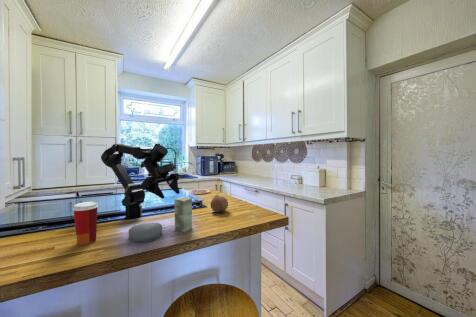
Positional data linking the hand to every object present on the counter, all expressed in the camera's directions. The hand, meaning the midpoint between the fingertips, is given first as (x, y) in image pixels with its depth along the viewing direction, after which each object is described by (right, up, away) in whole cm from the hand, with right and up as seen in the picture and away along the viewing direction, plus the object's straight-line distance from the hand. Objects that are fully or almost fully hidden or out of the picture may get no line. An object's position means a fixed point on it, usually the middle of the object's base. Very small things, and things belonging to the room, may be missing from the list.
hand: (171, 195), depth 92 cm
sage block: (+6, -13, -4) cm, 15 cm away
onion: (+19, -12, +20) cm, 30 cm away
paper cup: (-26, -14, -16) cm, 34 cm away
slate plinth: (-7, -14, -10) cm, 19 cm away
